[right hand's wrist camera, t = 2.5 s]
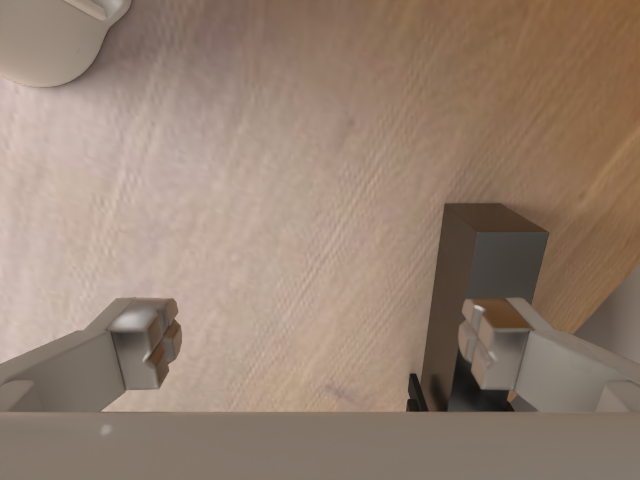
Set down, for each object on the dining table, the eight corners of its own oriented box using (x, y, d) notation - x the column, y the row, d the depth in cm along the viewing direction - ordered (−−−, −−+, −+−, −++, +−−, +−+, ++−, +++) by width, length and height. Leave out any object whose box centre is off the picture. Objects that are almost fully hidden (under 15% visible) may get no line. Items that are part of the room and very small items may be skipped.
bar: (444, 203, 37) (478, 232, 29) (501, 203, 37) (549, 232, 29) (418, 401, 47) (437, 462, 39) (462, 401, 47) (491, 462, 39)
